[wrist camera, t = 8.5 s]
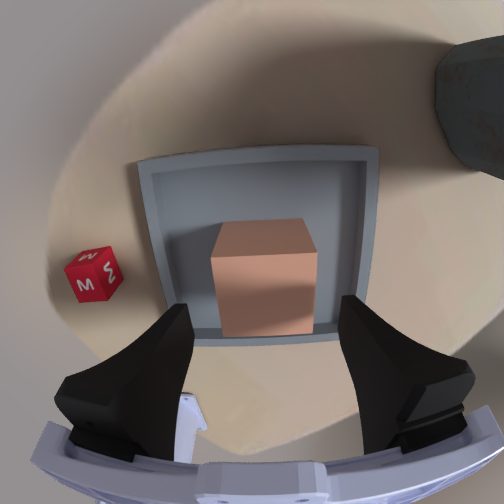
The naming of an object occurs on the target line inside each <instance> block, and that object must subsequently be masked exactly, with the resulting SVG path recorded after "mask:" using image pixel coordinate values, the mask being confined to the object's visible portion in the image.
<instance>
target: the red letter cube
mask: <svg viewBox="0 0 504 504" xmlns="http://www.w3.org/2000/svg"><path fill="white" fill-rule="evenodd" d="M64 271H65V273H66V275H67V277H68V280H69V282H70V284H71V286H72V288H73V291H74V293H75V295H76V297H77V299H78V301H79V303H83V302H97V301H108V300H109V299H110V297H111V296H112V295H113V293H114V292H115V291H116V289H117V288H118V287H119V285H120V284H121V283H122V281H123V277H122V275H121V272H120V270H119V267H118V264H117V262H116V259H115V256H114V254H113V251H112V248H111V246H108V247H102V248H97V249H92V250H87V251H83V252H82V253H81V254H79V255H78V256H77V257H76V258H75V259H74V260H73V261H72V262H70V263H69V264H68V265H67V266H66V267H65V268H64Z"/></svg>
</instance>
